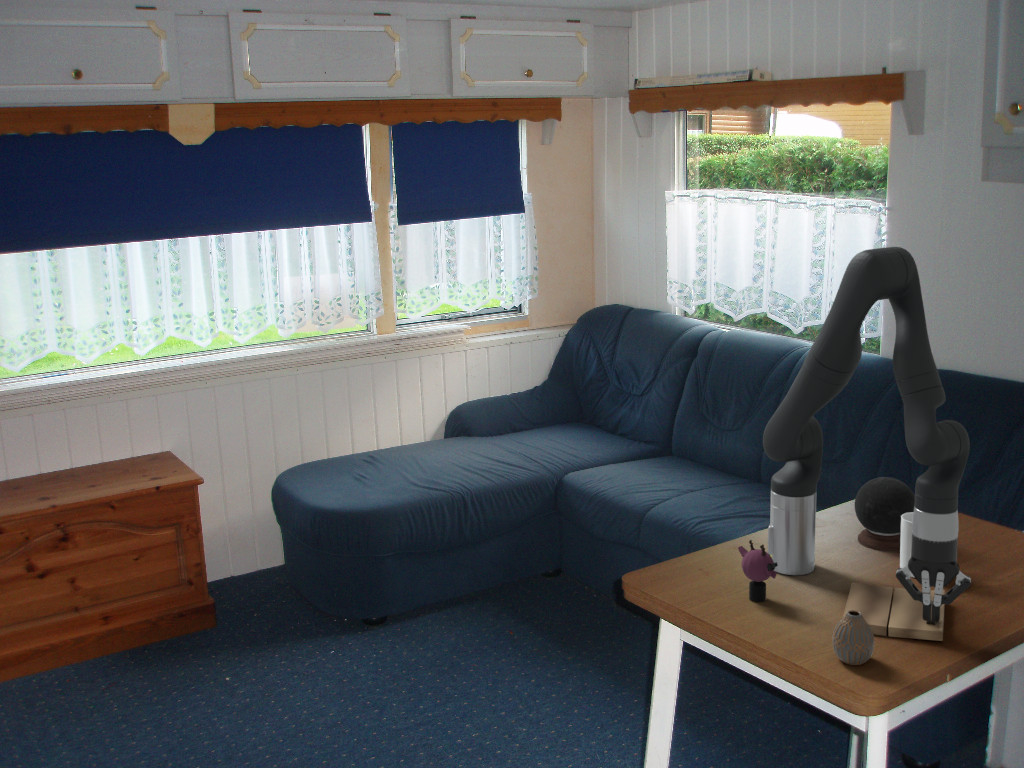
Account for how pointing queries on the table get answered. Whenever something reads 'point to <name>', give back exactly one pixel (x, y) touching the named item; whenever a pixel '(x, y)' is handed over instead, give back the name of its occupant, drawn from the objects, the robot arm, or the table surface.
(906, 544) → the mug
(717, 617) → the table surface
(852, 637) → the vase
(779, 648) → the table surface
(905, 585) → the robot arm
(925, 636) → the board
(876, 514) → the black sphere on base
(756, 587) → the figurine
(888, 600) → the fixed plank
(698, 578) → the table surface
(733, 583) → the table surface
